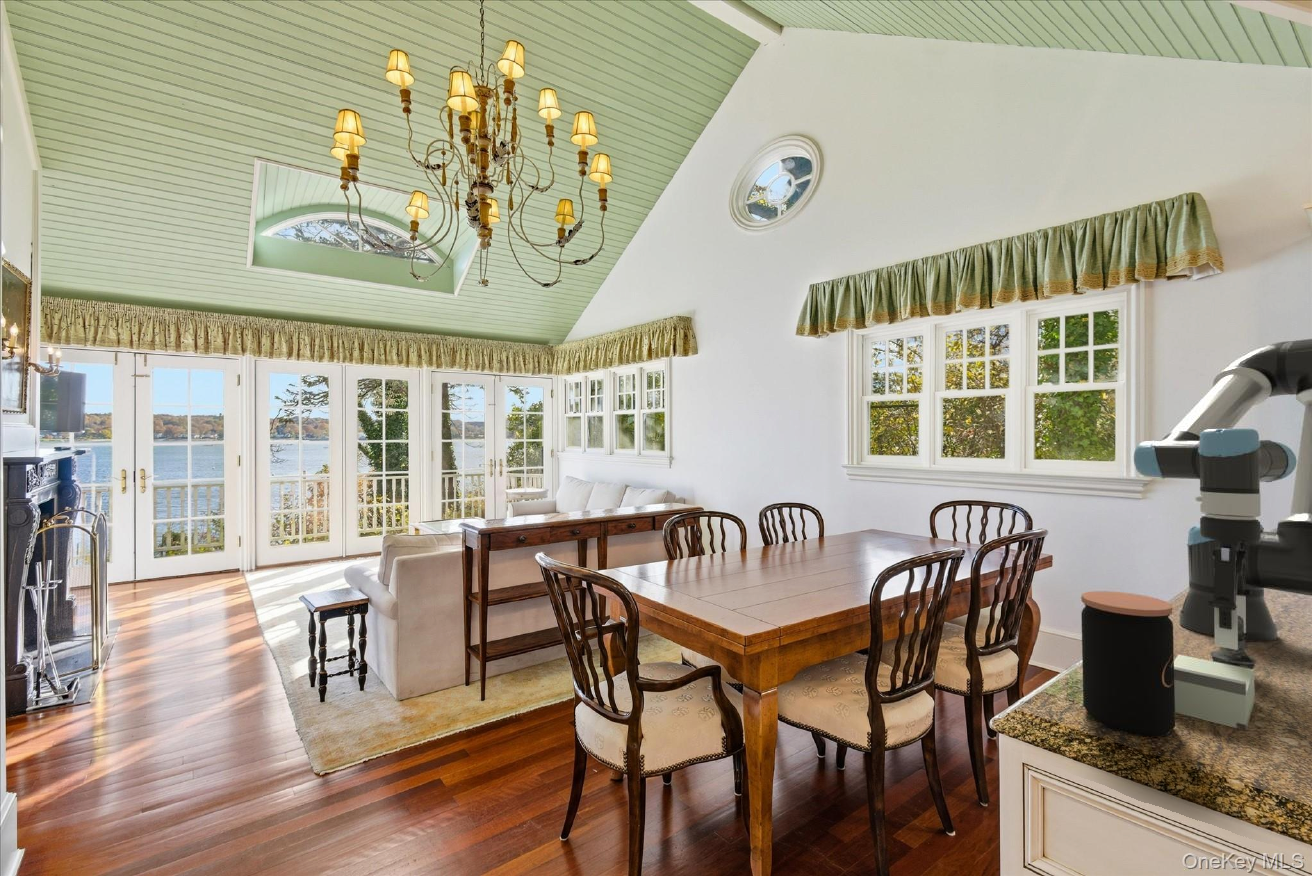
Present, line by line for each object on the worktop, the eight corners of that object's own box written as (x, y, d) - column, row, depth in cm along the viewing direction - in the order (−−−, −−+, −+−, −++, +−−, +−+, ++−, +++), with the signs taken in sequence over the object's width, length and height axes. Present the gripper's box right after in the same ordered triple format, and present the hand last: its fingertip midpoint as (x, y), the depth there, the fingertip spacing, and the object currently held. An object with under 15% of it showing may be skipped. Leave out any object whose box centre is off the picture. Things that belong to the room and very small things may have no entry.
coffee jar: (1184, 746, 79) (1181, 614, 79) (1086, 727, 85) (1084, 603, 85) (1167, 715, 88) (1164, 596, 88) (1080, 699, 94) (1078, 587, 94)
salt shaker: (1210, 668, 106) (1209, 602, 106) (1257, 677, 102) (1255, 608, 102) (1209, 677, 102) (1207, 608, 102) (1257, 687, 97) (1255, 615, 98)
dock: (1179, 683, 99) (1178, 645, 99) (1254, 701, 92) (1253, 659, 92) (1163, 709, 90) (1162, 666, 90) (1246, 730, 83) (1245, 684, 83)
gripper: (1209, 510, 113) (1211, 620, 113) (1189, 520, 97) (1190, 648, 96) (1265, 513, 107) (1267, 629, 107) (1253, 524, 91) (1255, 661, 91)
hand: (1230, 638), depth 102 cm, fingers open, 13 cm apart
